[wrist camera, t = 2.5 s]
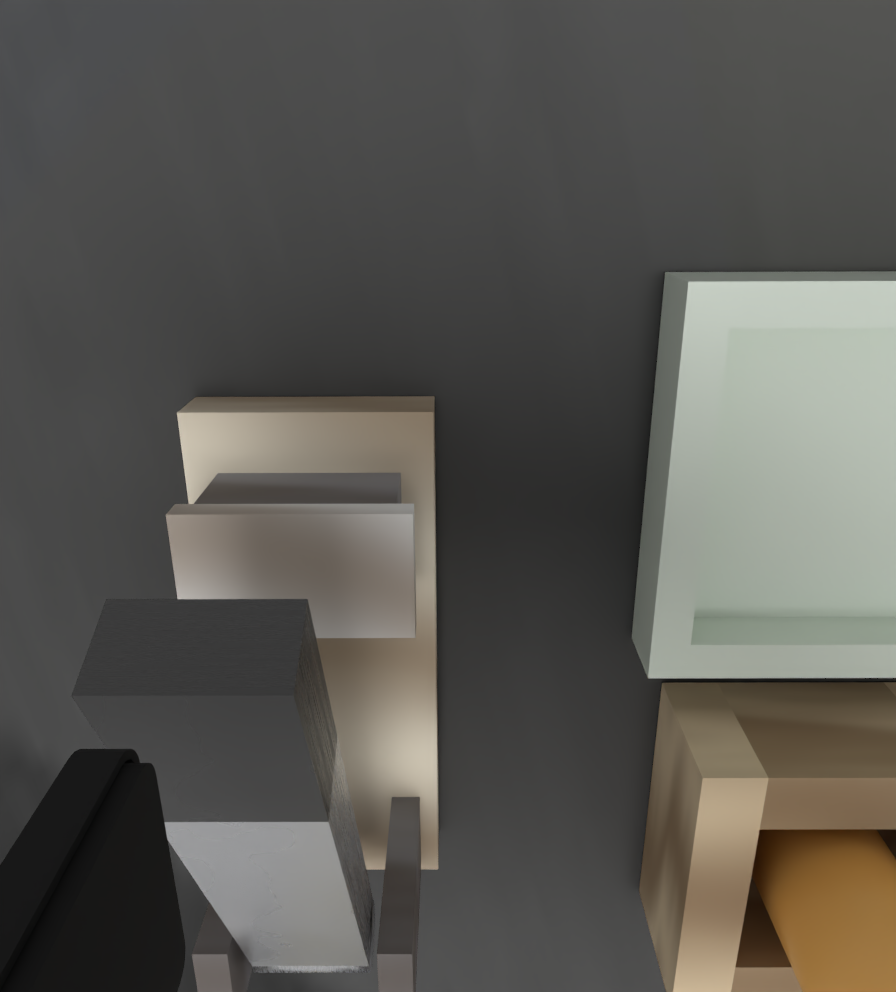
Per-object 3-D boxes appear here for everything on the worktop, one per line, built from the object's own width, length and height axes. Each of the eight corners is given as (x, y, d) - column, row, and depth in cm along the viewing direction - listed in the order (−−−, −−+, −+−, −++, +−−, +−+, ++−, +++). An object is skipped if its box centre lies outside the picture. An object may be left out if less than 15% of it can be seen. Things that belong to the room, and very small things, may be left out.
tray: (986, 637, 23) (1034, 677, 21) (631, 637, 23) (647, 678, 21) (1087, 270, 19) (1156, 280, 17) (665, 272, 19) (688, 281, 17)
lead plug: (828, 838, 25) (1129, 1355, 14) (714, 838, 25) (924, 1354, 14) (849, 744, 24) (1197, 1232, 13) (728, 744, 24) (972, 1232, 13)
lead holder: (885, 890, 26) (957, 1008, 22) (638, 891, 26) (670, 1008, 22) (938, 682, 23) (1032, 777, 19) (661, 682, 23) (702, 778, 19)
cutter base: (438, 831, 25) (435, 1036, 19) (247, 831, 25) (184, 1036, 19) (434, 396, 20) (428, 487, 14) (195, 396, 20) (86, 488, 14)
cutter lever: (375, 910, 21) (371, 979, 20) (269, 910, 21) (259, 980, 20) (308, 595, 11) (292, 699, 10) (107, 596, 11) (69, 699, 10)
